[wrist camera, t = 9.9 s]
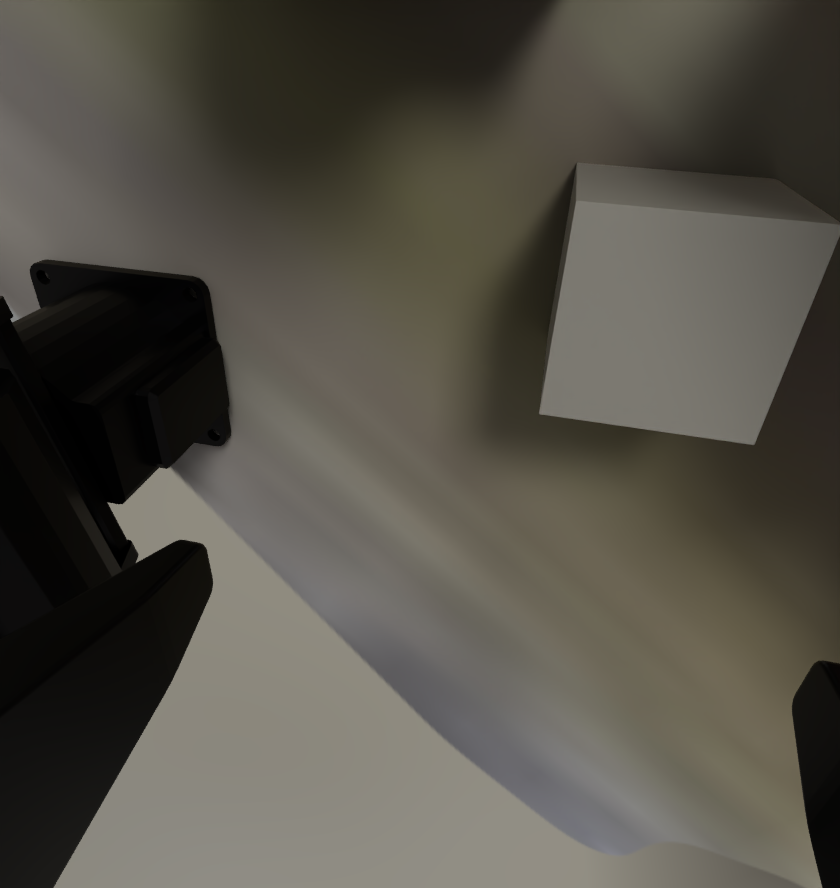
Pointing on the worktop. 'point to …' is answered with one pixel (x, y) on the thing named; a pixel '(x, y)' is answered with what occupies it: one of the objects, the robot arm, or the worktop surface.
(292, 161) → the worktop surface
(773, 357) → the grey cube
